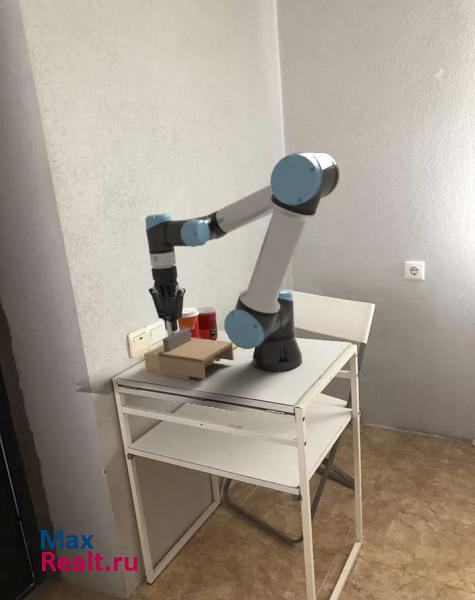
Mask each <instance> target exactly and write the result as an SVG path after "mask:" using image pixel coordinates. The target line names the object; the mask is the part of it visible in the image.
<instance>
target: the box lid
mask: <svg viewBox="0 0 475 600" xmlns="http://www.w3.org/2000/svg"><path fill="white" fill-rule="evenodd" d="M162 344H163V346H164V351H162V352H160V353H158V358H159V365H160V371H162V372H168V373H174V374H179V375H185V376H191V377H193V378H197V379H203V380H204V379H205V380H206V368H204V362H206V361H207V360H209V359H211V358H212V357H214V358H219V359H220V360H226V361H227V360H228V361H234V360H235V359H234V358H235V357H234V350H233V346H232V342H231V341H225V340H224V341H223V340H217V339H216V340H208V339H200V338H192V337H191V334H190V329H187V328H185V329H182V330H179V331H178V330H177V332H176V333H174V334H172V335H170V336H168V335H167V336H166V337H163V338H162ZM191 377H190V378H191Z"/></svg>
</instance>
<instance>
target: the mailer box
mask: <svg viewBox="0 0 475 600" xmlns="http://www.w3.org/2000/svg"><path fill="white" fill-rule="evenodd" d="M162 351H164V346H163V343H162V344H160V345H158V346H156V347H154V348H152V349H150V350H148V351H147V352H144V353H143V356H144V364H145V370H146V373H151V374H157V375H163V376H169V377H175V378H180V379H185V380H189V379H190V378H191V376H185V375H179V374H174V373H168V372H162V371H160V365H159V358H158V353H160V352H162ZM213 364H215V360H214V357H212V358H211V359H209V360H207V361H206V362H204V368H205V369H206V368H208V367H209V366H211V365H213Z"/></svg>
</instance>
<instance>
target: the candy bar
mask: <svg viewBox="0 0 475 600" xmlns="http://www.w3.org/2000/svg"><path fill="white" fill-rule="evenodd" d="M232 346H233V351H235V350H237V349H238V348H239V347H238V346H236V345H235V344H234V343H232ZM220 360H221V359H219V358H214V361H220Z"/></svg>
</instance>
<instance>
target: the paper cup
mask: <svg viewBox="0 0 475 600" xmlns="http://www.w3.org/2000/svg"><path fill="white" fill-rule="evenodd" d="M197 309H198V308H196V307H186V308H183V310H182V318H180V319H177V325H178V329H179V331H180V330H182V329H185V328H187V329H190V334H191V337H192V338H199V327H198V314H199V312H198V311H197Z"/></svg>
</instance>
